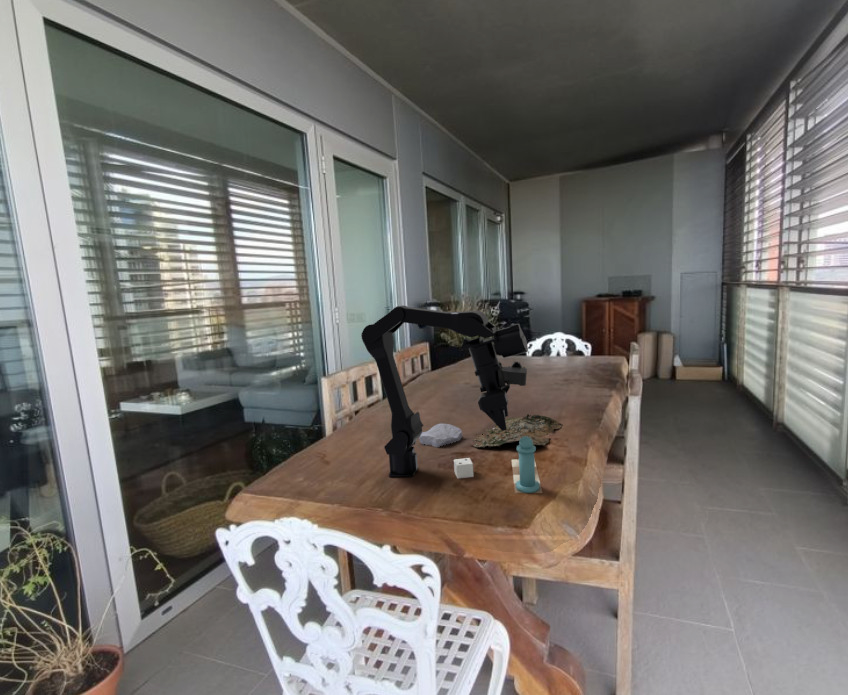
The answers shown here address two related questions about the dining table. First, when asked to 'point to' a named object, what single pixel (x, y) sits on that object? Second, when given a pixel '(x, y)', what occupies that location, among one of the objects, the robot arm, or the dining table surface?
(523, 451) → the pawn
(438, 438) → the stone block
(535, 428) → the terrain model
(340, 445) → the dining table surface
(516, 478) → the board
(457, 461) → the die
